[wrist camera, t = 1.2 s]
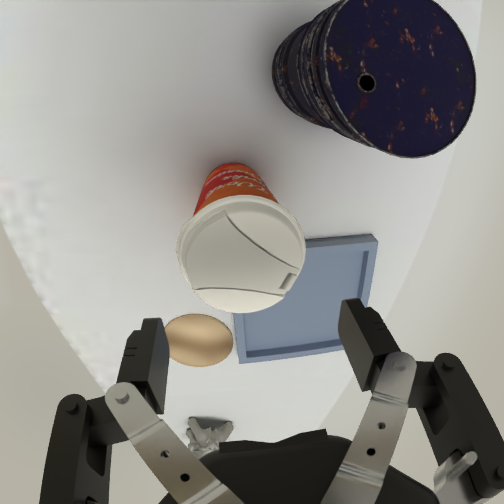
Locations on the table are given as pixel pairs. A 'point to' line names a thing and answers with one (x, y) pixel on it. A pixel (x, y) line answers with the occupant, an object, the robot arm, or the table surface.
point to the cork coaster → (198, 340)
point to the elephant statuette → (206, 437)
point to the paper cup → (240, 243)
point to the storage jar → (380, 74)
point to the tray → (310, 302)
